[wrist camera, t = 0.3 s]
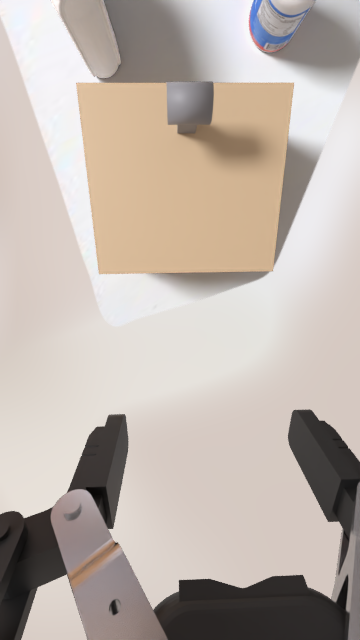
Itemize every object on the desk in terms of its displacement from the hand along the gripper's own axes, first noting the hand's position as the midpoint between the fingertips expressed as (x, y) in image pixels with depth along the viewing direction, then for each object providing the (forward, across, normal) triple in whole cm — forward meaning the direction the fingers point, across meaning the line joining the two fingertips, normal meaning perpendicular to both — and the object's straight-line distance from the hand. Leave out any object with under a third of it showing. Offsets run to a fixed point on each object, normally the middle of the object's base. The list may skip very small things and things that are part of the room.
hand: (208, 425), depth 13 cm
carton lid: (+18, 0, -12) cm, 22 cm away
